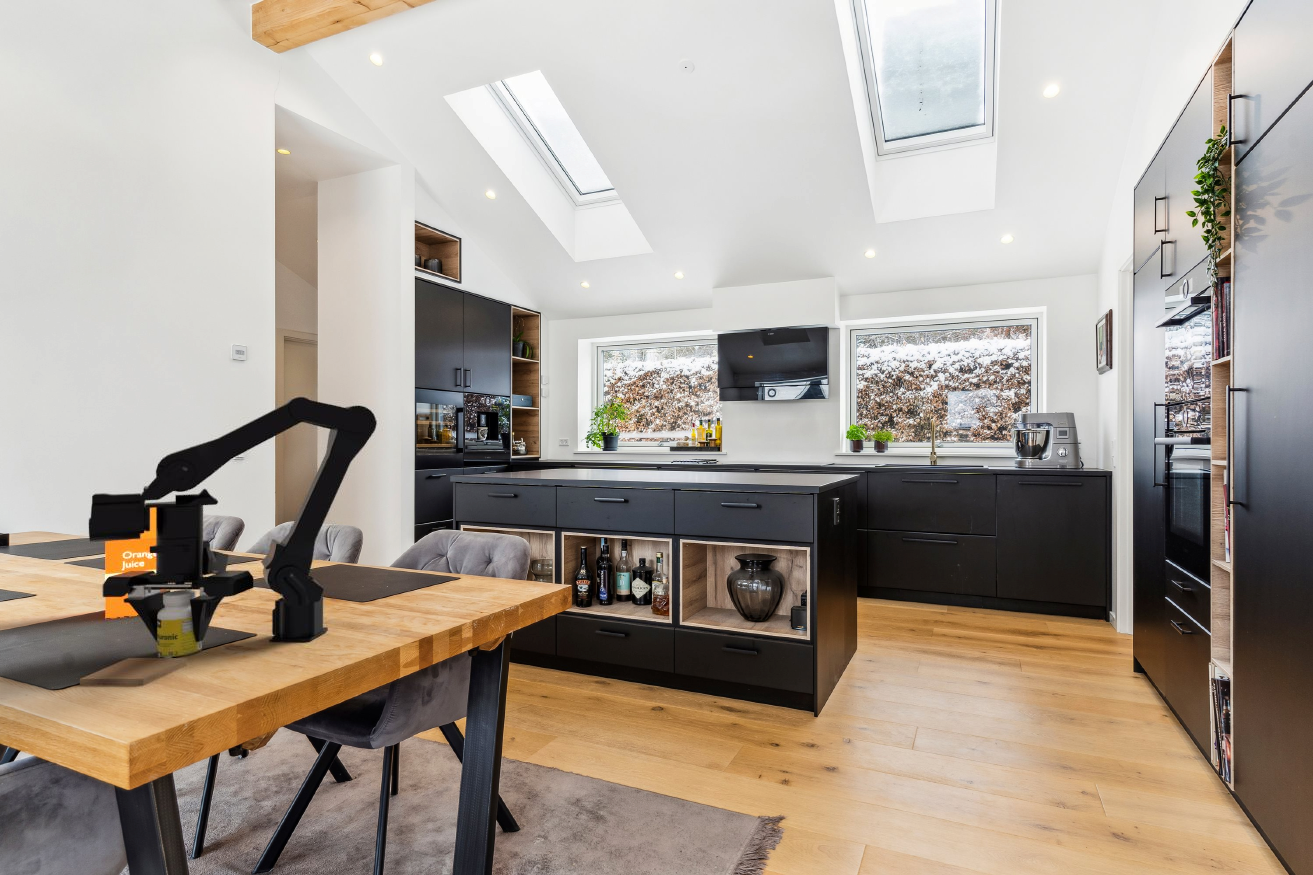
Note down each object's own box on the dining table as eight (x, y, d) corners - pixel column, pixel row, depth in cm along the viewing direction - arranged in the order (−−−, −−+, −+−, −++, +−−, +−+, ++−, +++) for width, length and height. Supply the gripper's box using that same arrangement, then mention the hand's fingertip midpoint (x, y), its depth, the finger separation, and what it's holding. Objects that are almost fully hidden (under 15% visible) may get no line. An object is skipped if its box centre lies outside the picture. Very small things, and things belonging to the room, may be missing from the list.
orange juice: (106, 613, 124) (106, 506, 124) (165, 606, 130) (165, 503, 130) (104, 622, 118) (104, 509, 118) (166, 614, 123) (166, 506, 123)
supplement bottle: (148, 661, 98) (148, 594, 98) (186, 650, 103) (186, 587, 103) (172, 666, 96) (172, 598, 96) (210, 655, 101) (210, 590, 101)
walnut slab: (186, 675, 93) (186, 657, 93) (143, 698, 85) (143, 678, 85) (128, 675, 93) (128, 657, 93) (80, 698, 85) (80, 678, 85)
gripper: (273, 528, 108) (273, 625, 108) (155, 528, 107) (155, 626, 107) (230, 539, 96) (230, 647, 96) (99, 539, 96) (99, 648, 96)
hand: (179, 641), depth 99 cm, fingers closed on supplement bottle, 5 cm apart
